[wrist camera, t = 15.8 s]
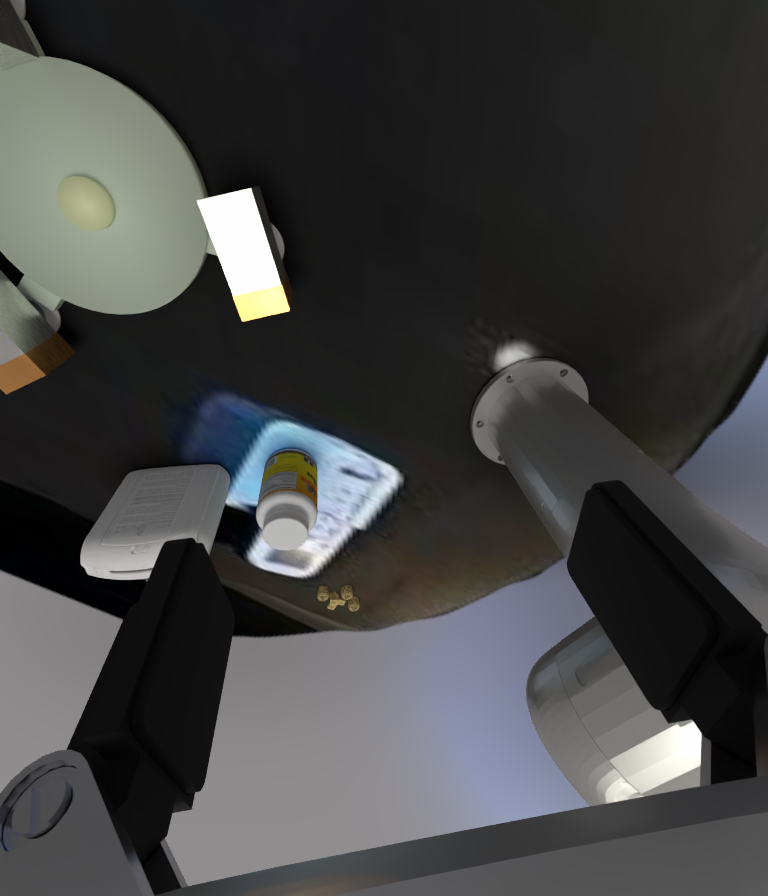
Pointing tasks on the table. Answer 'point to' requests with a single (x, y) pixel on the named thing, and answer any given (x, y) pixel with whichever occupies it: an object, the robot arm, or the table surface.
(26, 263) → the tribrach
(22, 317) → the orange-tipped grey block
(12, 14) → the orange-tipped eraser
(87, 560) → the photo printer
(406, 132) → the table surface
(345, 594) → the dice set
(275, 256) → the white and orange block
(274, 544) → the supplement bottle
